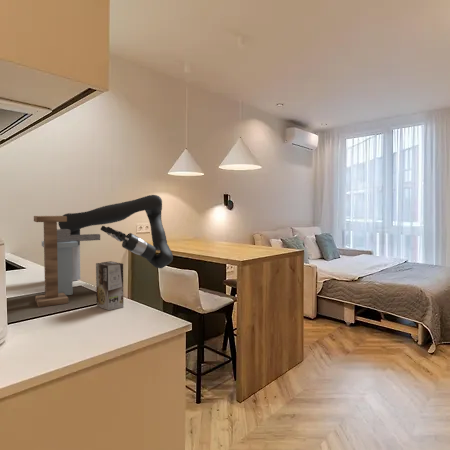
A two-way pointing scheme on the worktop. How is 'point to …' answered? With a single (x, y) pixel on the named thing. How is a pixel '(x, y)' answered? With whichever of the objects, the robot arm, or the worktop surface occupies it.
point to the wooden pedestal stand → (50, 262)
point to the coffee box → (109, 285)
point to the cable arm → (74, 236)
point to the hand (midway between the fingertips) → (104, 228)
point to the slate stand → (65, 266)
